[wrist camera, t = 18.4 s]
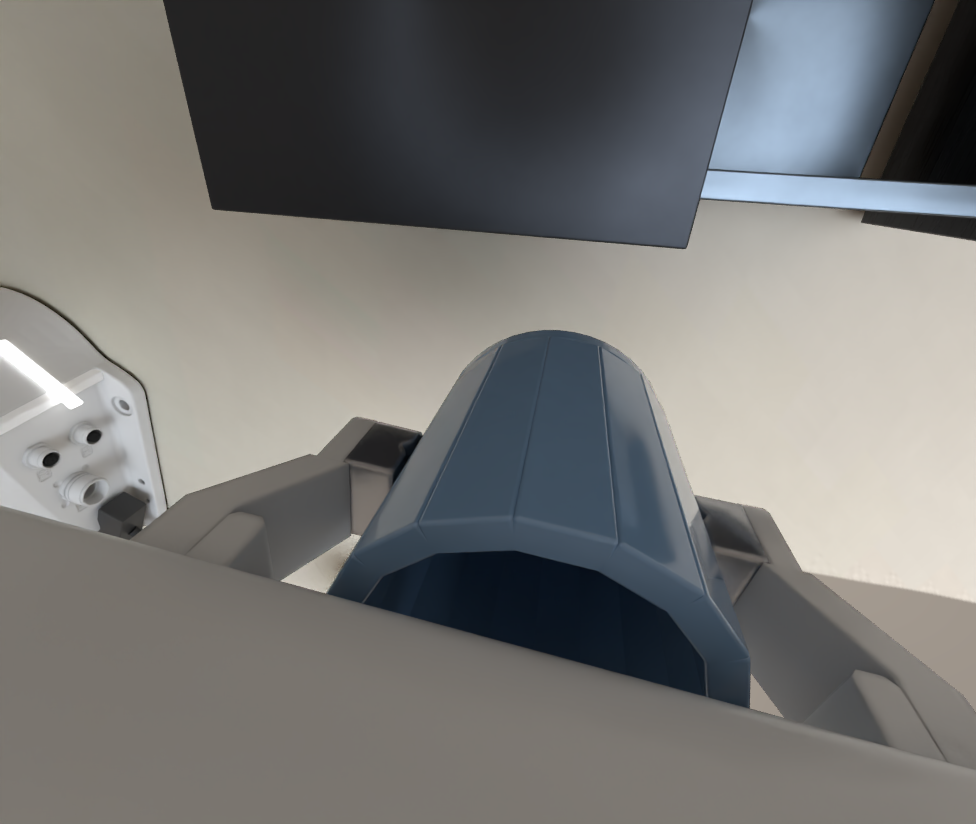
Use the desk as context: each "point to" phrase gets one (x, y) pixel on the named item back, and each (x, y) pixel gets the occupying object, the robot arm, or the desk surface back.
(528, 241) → the desk surface
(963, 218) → the drawer
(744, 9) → the black box
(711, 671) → the cup
